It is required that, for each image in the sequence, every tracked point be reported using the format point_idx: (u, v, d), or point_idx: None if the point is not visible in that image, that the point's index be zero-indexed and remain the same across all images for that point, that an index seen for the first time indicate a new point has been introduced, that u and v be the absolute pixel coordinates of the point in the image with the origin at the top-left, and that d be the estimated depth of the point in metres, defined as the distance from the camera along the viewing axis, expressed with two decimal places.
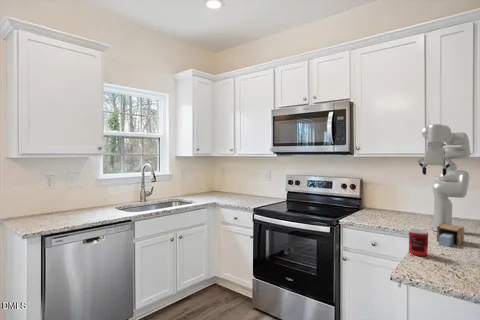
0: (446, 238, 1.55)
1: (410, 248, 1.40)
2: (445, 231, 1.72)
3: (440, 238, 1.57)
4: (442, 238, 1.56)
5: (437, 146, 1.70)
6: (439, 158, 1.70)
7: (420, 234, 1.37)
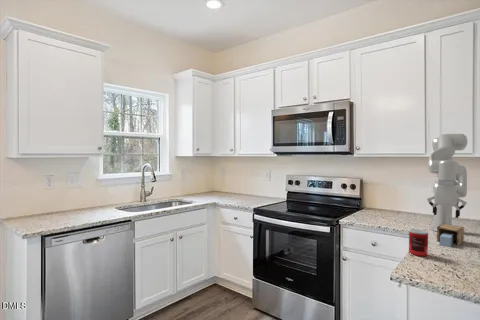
0: (447, 238, 1.55)
1: (410, 248, 1.40)
2: (445, 231, 1.72)
3: (441, 239, 1.57)
4: (443, 238, 1.56)
5: (449, 185, 1.54)
6: (452, 198, 1.54)
7: (420, 234, 1.37)
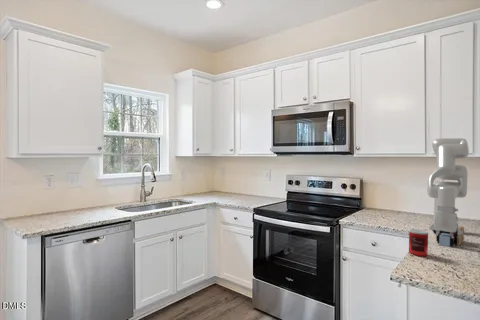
0: (447, 238, 1.55)
1: (410, 248, 1.40)
2: None
3: (441, 238, 1.57)
4: (443, 238, 1.56)
5: (449, 212, 1.54)
6: (451, 225, 1.54)
7: (420, 234, 1.37)
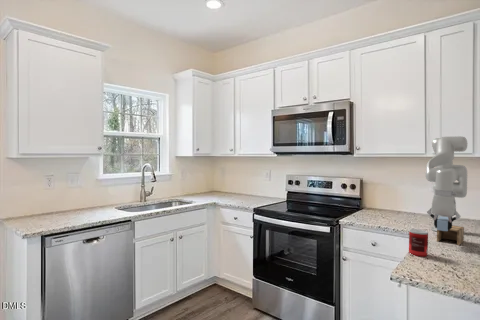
0: (444, 222, 1.52)
1: (410, 248, 1.40)
2: (445, 231, 1.72)
3: (439, 223, 1.54)
4: (440, 222, 1.53)
5: (446, 195, 1.50)
6: (449, 209, 1.51)
7: (420, 234, 1.37)
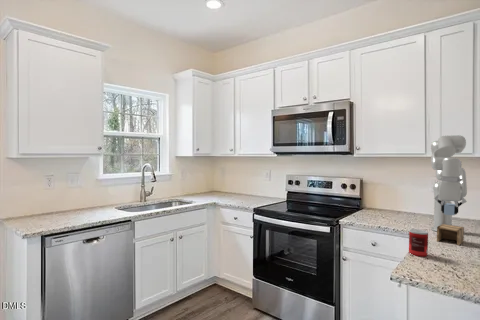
0: (451, 206, 1.60)
1: (410, 248, 1.40)
2: (445, 231, 1.72)
3: (445, 207, 1.62)
4: (447, 207, 1.61)
5: (453, 181, 1.59)
6: (455, 194, 1.59)
7: (420, 234, 1.37)
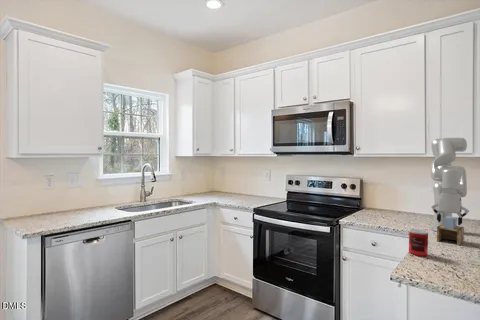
0: (450, 220, 1.61)
1: (410, 248, 1.40)
2: (445, 231, 1.72)
3: (445, 221, 1.62)
4: (446, 220, 1.62)
5: (453, 193, 1.59)
6: (455, 206, 1.59)
7: (420, 234, 1.37)
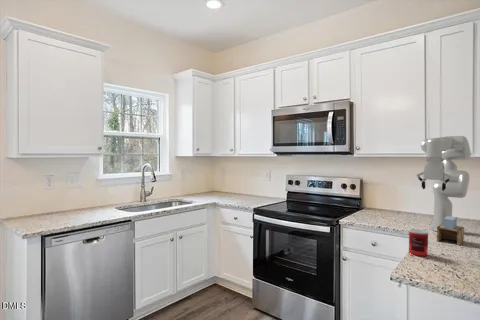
0: (450, 220, 1.61)
1: (410, 248, 1.40)
2: (445, 231, 1.72)
3: (445, 221, 1.62)
4: (446, 220, 1.62)
5: (436, 161, 1.70)
6: (438, 173, 1.70)
7: (420, 234, 1.37)
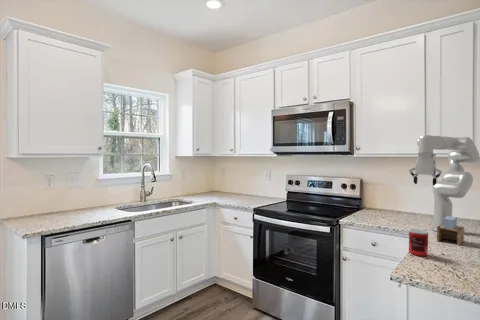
0: (450, 220, 1.61)
1: (410, 248, 1.40)
2: (445, 231, 1.72)
3: (445, 221, 1.62)
4: (446, 220, 1.62)
5: (427, 156, 1.76)
6: (429, 168, 1.76)
7: (420, 234, 1.37)
